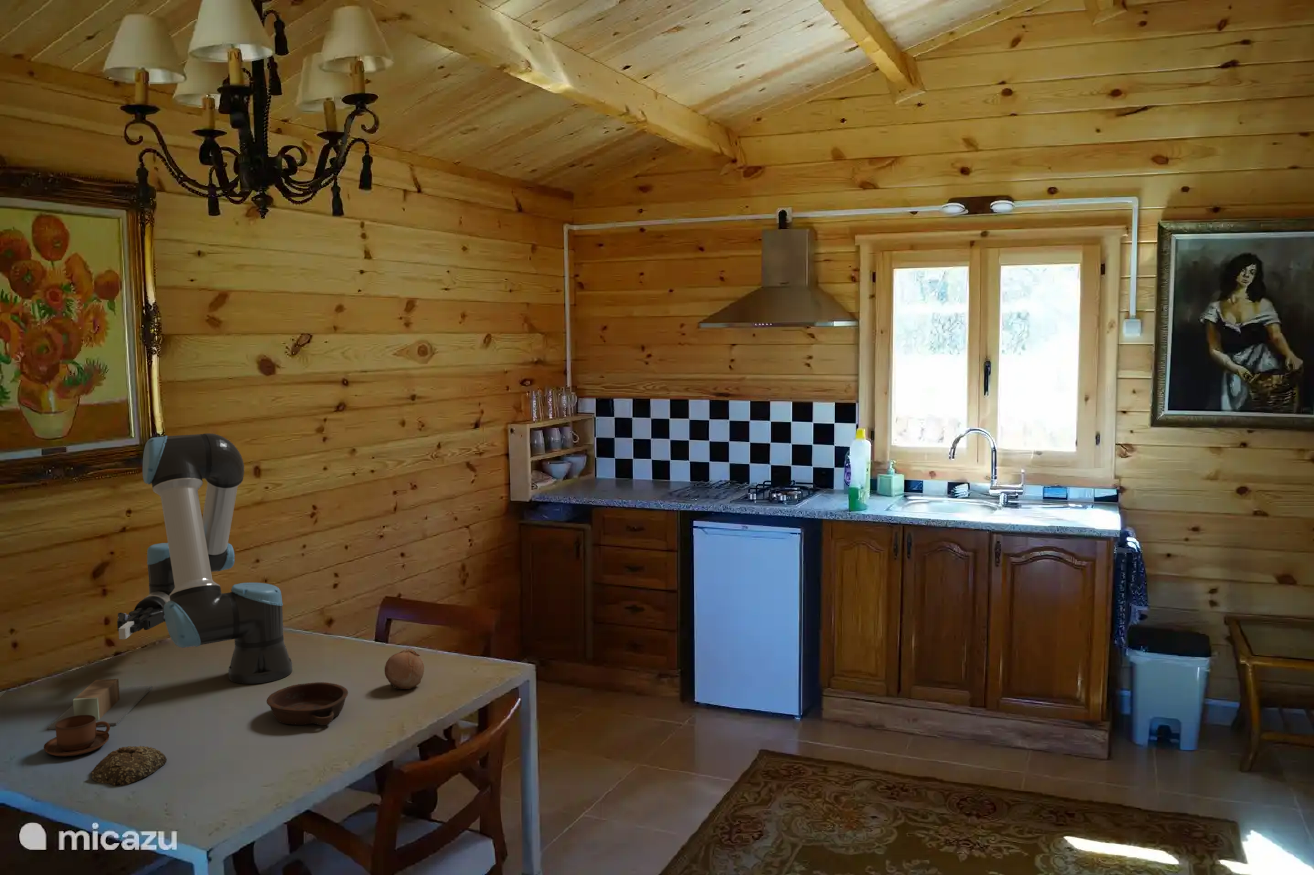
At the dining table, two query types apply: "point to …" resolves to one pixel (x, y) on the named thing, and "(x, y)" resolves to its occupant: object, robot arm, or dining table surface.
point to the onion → (404, 669)
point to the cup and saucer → (77, 736)
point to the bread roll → (128, 765)
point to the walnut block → (97, 698)
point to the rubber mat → (115, 706)
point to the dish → (308, 703)
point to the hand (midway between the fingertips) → (122, 633)
